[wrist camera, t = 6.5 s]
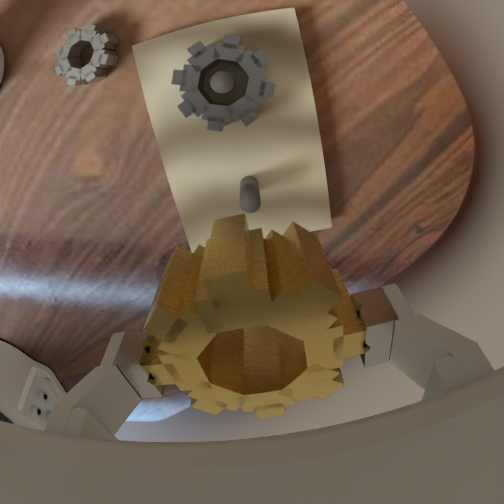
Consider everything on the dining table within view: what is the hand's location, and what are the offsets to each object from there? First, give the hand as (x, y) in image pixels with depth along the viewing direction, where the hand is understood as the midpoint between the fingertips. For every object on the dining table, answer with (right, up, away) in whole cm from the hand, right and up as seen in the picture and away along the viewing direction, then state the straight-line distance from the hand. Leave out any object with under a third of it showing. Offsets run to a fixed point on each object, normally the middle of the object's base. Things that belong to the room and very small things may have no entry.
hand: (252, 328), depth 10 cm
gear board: (-1, +12, +13) cm, 18 cm away
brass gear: (0, +1, +1) cm, 2 cm away
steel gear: (-2, +14, +10) cm, 18 cm away
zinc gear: (-13, +18, +9) cm, 24 cm away
